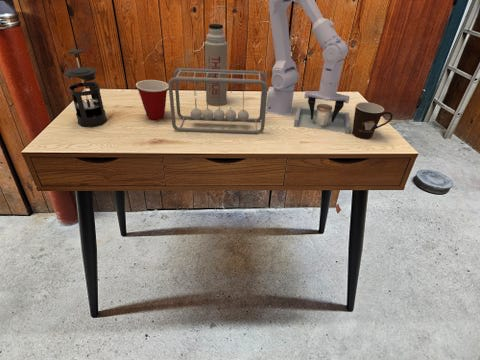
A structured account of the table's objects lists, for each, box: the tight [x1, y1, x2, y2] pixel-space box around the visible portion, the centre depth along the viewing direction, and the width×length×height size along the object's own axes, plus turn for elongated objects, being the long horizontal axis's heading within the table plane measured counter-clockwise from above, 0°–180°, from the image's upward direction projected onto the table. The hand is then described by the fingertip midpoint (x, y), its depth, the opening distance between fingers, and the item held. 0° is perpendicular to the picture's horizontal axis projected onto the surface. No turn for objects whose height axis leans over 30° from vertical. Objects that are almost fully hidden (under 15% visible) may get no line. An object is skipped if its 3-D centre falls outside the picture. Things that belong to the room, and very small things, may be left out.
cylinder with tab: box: [314, 103, 333, 126], centre depth 110 cm, size 5×7×6 cm
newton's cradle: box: [168, 67, 269, 135], centre depth 104 cm, size 30×10×18 cm, turn 89°
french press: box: [64, 49, 108, 128], centre depth 102 cm, size 12×9×23 cm
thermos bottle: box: [204, 23, 228, 107], centre depth 118 cm, size 8×8×28 cm
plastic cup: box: [135, 79, 169, 122], centre depth 109 cm, size 11×11×12 cm
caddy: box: [293, 106, 351, 135], centre depth 112 cm, size 18×13×3 cm
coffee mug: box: [351, 101, 393, 140], centre depth 103 cm, size 12×9×10 cm
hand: (322, 119), depth 112 cm, fingers open, 6 cm apart
